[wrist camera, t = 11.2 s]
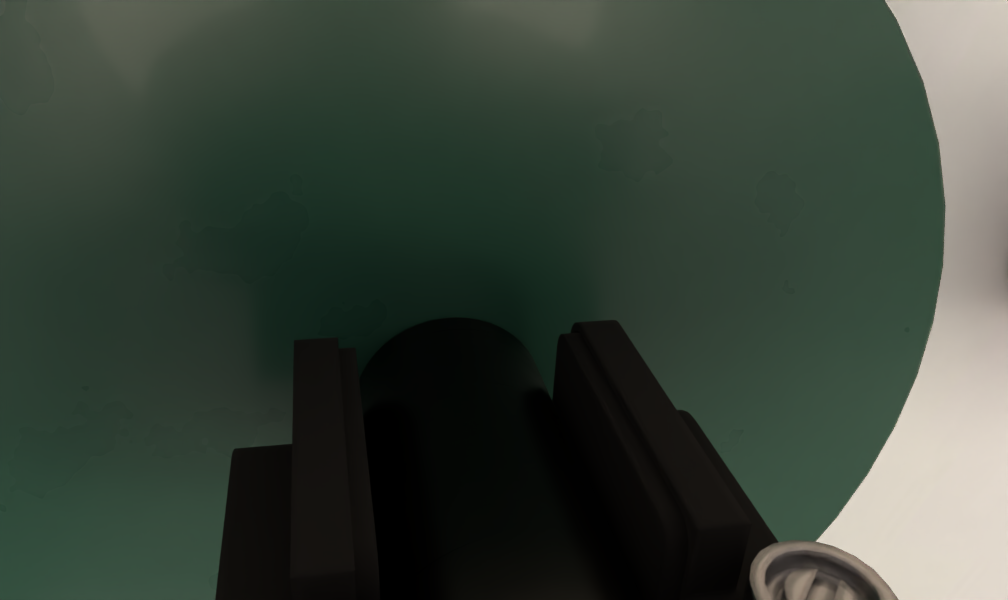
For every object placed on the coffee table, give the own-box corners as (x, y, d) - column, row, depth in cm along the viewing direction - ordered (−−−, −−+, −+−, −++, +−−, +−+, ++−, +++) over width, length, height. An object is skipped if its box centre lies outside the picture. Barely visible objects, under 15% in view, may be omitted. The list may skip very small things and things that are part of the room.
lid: (-495, 39, 9) (-2030, 413, 3) (858, -440, 9) (1776, -908, 4) (198, 797, 16) (143, 1311, 11) (918, 513, 17) (1236, 858, 11)
